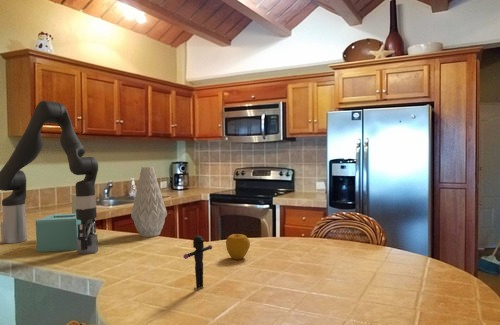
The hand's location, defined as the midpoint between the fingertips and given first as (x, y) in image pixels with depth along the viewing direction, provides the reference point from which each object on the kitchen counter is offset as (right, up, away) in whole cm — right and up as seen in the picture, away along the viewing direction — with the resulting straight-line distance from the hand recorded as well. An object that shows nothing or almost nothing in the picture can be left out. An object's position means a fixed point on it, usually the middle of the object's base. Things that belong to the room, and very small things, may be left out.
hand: (87, 247), depth 152 cm
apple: (+61, -1, -15) cm, 63 cm away
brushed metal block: (0, -2, 0) cm, 2 cm away
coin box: (-15, -2, +13) cm, 20 cm away
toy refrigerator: (-15, -2, +33) cm, 36 cm away
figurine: (+51, -2, -45) cm, 68 cm away
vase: (+17, -1, +30) cm, 35 cm away
